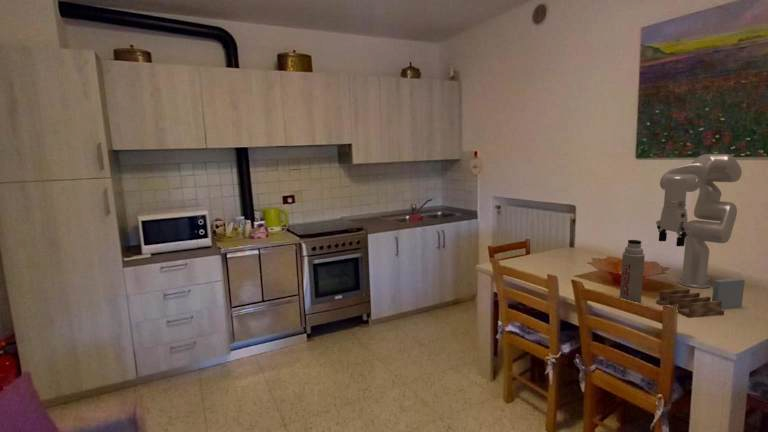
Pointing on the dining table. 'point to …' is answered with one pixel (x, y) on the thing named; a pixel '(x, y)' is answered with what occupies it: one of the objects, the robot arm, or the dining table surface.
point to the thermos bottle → (632, 272)
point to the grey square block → (729, 292)
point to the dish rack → (690, 303)
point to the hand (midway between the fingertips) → (671, 243)
